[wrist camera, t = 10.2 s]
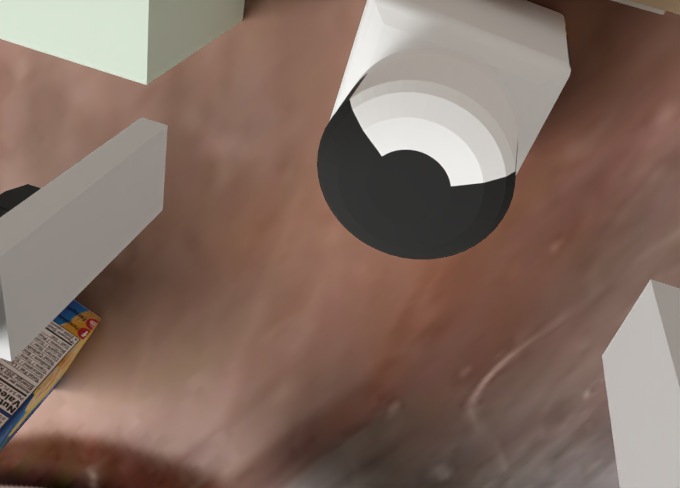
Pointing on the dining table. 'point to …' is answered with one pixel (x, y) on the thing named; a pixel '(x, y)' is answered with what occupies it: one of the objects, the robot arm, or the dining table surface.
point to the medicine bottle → (439, 119)
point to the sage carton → (119, 31)
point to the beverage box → (41, 367)
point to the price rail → (654, 5)
